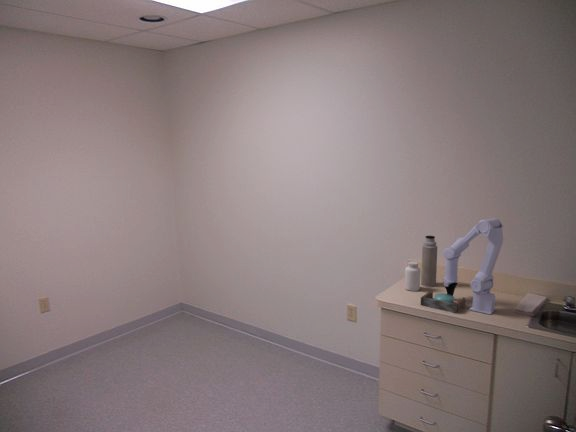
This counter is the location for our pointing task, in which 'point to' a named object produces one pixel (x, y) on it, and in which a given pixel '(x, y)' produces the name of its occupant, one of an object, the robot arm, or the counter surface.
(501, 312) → the counter surface
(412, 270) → the pill bottle
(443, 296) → the teal flat rounded lump
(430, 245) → the thermos bottle
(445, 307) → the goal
